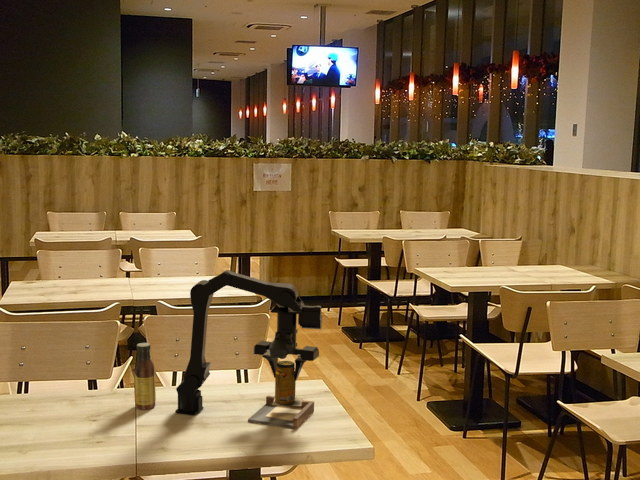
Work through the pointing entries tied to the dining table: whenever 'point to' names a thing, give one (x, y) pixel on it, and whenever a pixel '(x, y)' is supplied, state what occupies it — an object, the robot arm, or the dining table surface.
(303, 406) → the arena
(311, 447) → the dining table surface
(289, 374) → the condiment
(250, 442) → the dining table surface
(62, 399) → the dining table surface
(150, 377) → the sauce bottle
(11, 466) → the dining table surface
